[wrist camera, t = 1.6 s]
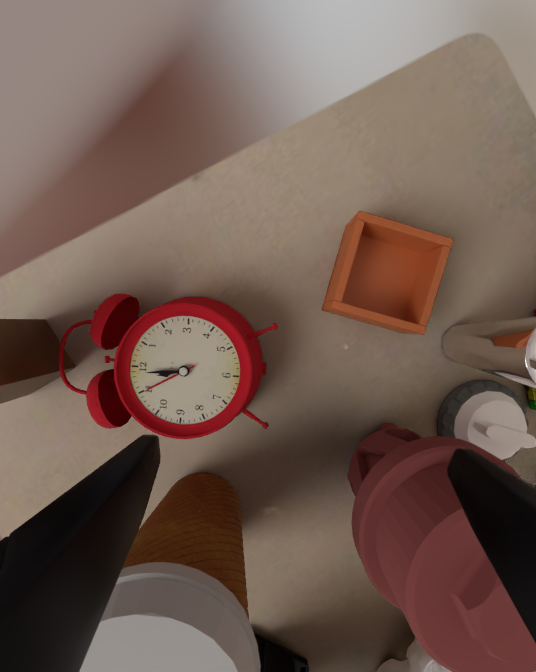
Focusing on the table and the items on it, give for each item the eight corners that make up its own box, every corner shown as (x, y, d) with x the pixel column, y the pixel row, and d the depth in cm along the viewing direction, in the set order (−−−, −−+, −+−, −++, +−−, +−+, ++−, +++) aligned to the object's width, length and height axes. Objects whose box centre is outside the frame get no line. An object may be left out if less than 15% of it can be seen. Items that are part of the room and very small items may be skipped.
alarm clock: (272, 453, 19) (10, 463, 15) (254, 419, 25) (63, 421, 21) (286, 301, 18) (18, 272, 15) (264, 305, 24) (70, 285, 21)
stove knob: (506, 474, 23) (541, 495, 21) (426, 452, 23) (450, 471, 20) (532, 392, 23) (572, 402, 20) (452, 369, 23) (480, 376, 20)
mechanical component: (460, 486, 23) (354, 538, 23) (412, 381, 23) (304, 434, 23) (683, 668, 11) (461, 779, 11) (592, 452, 10) (357, 568, 10)
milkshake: (419, 322, 23) (548, 323, 13) (482, 311, 23) (659, 303, 13) (427, 376, 23) (559, 419, 13) (490, 365, 23) (668, 398, 13)
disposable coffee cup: (273, 469, 23) (289, 633, 11) (241, 575, 23) (223, 848, 11) (161, 440, 22) (48, 576, 10) (130, 548, 23) (-12, 802, 11)
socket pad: (402, 333, 23) (424, 335, 20) (321, 309, 22) (331, 308, 19) (427, 250, 22) (453, 238, 19) (345, 225, 22) (359, 210, 19)
